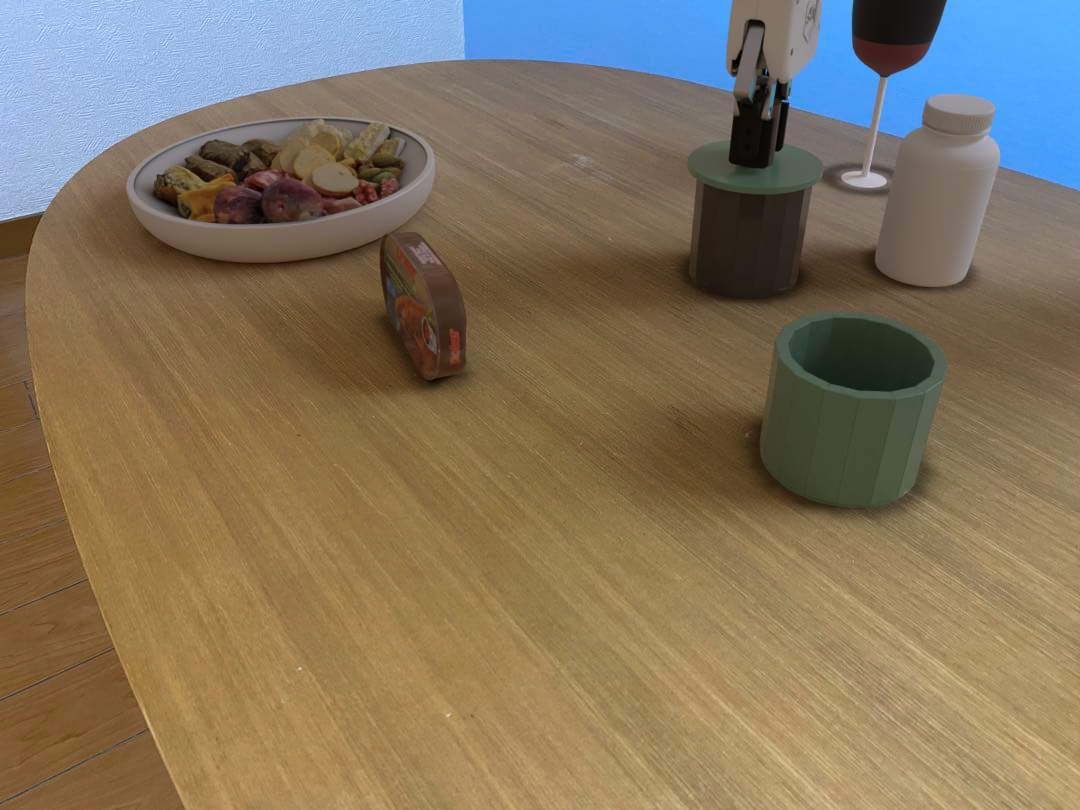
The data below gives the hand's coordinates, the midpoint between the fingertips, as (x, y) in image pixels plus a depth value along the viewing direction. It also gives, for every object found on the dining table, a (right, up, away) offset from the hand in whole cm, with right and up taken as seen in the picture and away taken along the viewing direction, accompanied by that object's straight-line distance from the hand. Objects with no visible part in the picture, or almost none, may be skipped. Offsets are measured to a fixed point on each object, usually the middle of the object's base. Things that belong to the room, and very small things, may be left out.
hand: (756, 154), depth 77 cm
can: (+2, -24, -15) cm, 29 cm away
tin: (-27, -16, -3) cm, 32 cm away
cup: (0, -9, +6) cm, 11 cm away
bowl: (-43, -1, +20) cm, 48 cm away
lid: (0, -1, +1) cm, 1 cm away
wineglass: (+17, +3, +24) cm, 30 cm away
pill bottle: (+16, -9, +7) cm, 20 cm away
